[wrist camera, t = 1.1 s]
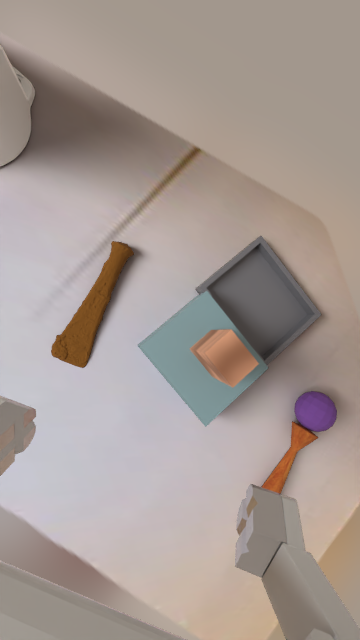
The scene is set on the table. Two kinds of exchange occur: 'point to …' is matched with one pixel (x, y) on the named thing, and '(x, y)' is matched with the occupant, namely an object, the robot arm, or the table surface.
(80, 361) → the primitive tool
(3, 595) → the robot arm
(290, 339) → the box
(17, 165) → the table surface
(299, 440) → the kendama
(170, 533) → the table surface
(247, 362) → the terracotta block
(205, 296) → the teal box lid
